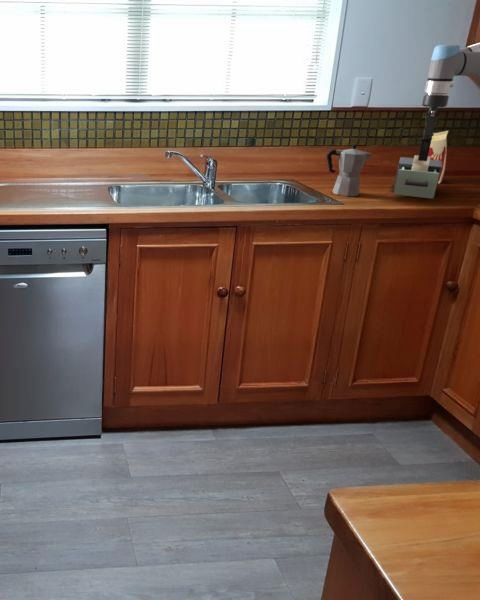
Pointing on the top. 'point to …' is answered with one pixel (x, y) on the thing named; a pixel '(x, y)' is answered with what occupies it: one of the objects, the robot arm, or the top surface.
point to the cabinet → (409, 162)
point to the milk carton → (439, 150)
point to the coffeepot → (348, 170)
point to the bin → (416, 182)
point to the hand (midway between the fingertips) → (422, 157)
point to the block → (420, 164)
